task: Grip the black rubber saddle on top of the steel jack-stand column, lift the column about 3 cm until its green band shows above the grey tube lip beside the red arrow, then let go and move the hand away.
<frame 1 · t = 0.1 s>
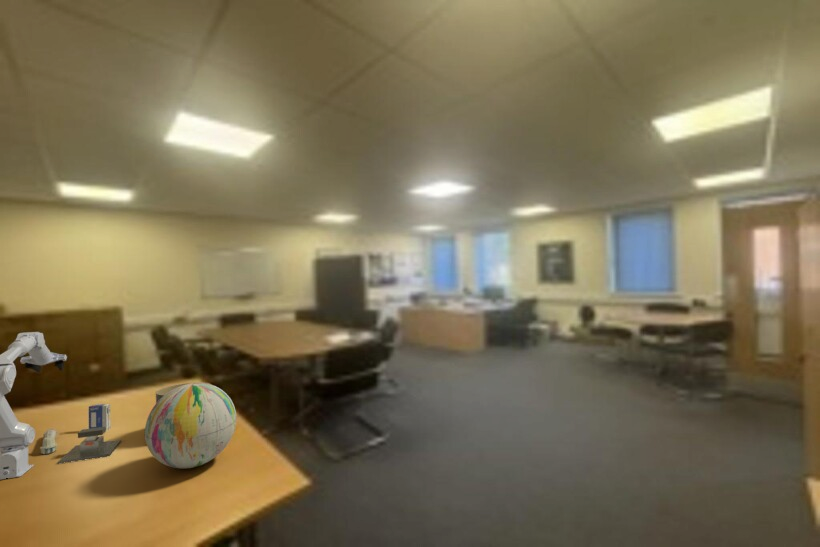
hand: (51, 369, 171), 32 cm above the table, tool tilted 50°, fingers open, 7 cm apart
globe: (193, 465, 148), on the table
walkman: (99, 430, 186), on the table
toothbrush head: (49, 446, 169), on the table
jack base: (92, 452, 161), on the table
planter: (184, 433, 180), on the table
jack column: (92, 439, 161), point 5 cm above the table, slide at 0.0 cm
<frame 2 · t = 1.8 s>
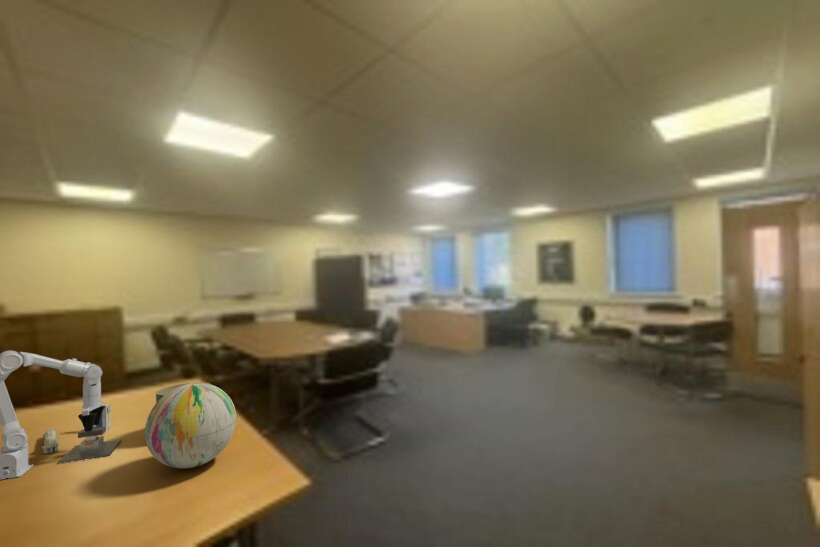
hand: (92, 427, 161), 10 cm above the table, tool pointing down, fingers open, 7 cm apart
nothing on the table moved.
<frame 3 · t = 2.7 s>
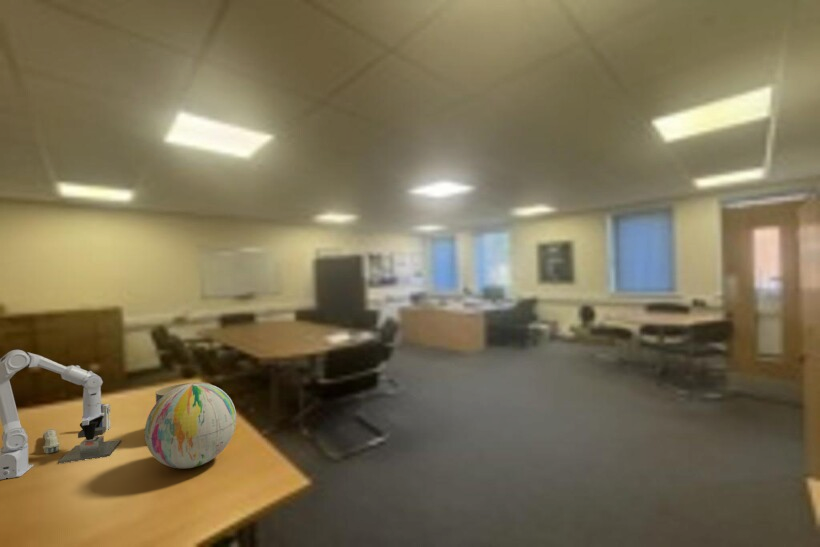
hand: (92, 437, 161), 6 cm above the table, tool pointing down, fingers closed on jack column, 4 cm apart
jack column: (92, 439, 161), point 5 cm above the table, slide at 0.0 cm, touching gripper
everything else where it was.
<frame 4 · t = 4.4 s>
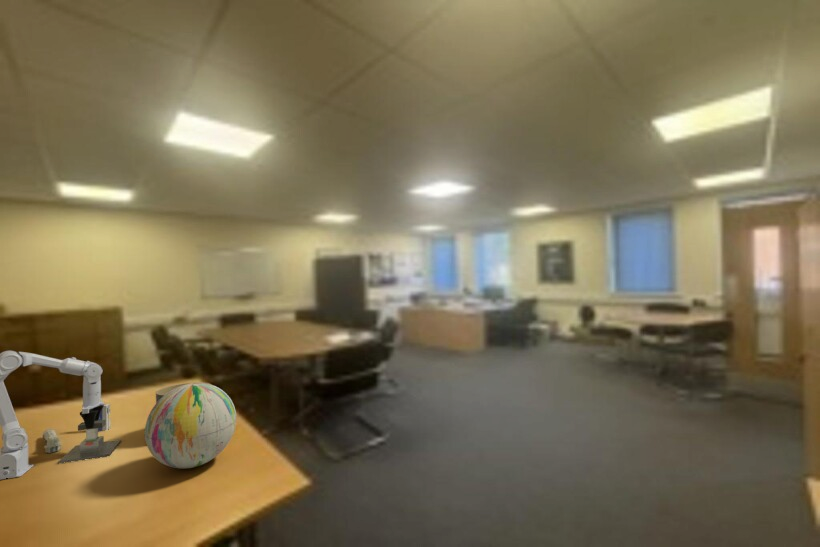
hand: (92, 426, 161), 10 cm above the table, tool pointing down, fingers closed on jack column, 4 cm apart
jack column: (92, 432, 161), point 8 cm above the table, slide at 2.9 cm, touching gripper
everything else where it was.
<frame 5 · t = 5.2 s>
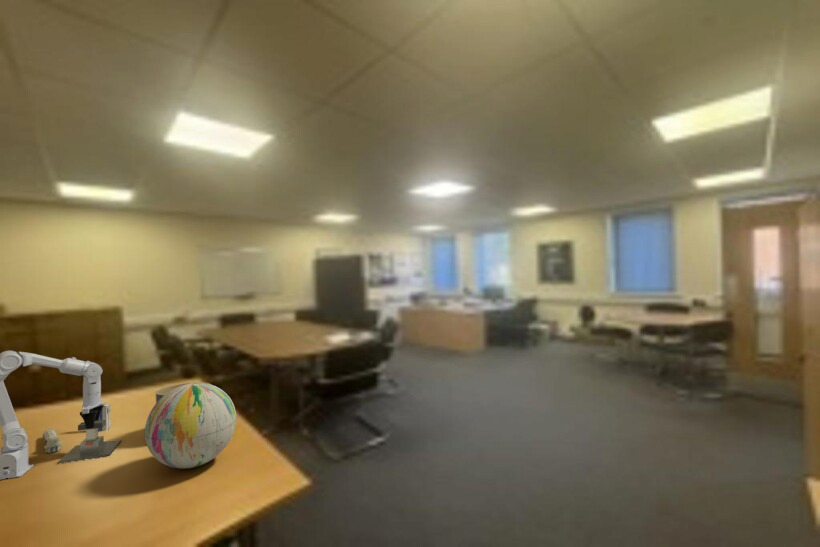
hand: (92, 426, 161), 10 cm above the table, tool pointing down, fingers closed on jack column, 4 cm apart
jack column: (92, 432, 161), point 8 cm above the table, slide at 2.9 cm, touching gripper
everything else where it was.
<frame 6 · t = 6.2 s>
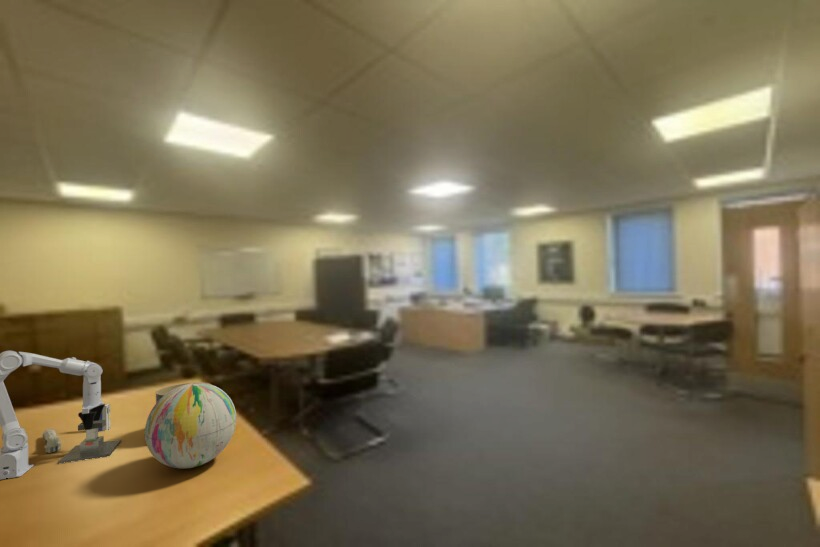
hand: (92, 426, 161), 10 cm above the table, tool pointing down, fingers open, 7 cm apart
jack column: (92, 432, 161), point 8 cm above the table, slide at 2.9 cm
everything else where it was.
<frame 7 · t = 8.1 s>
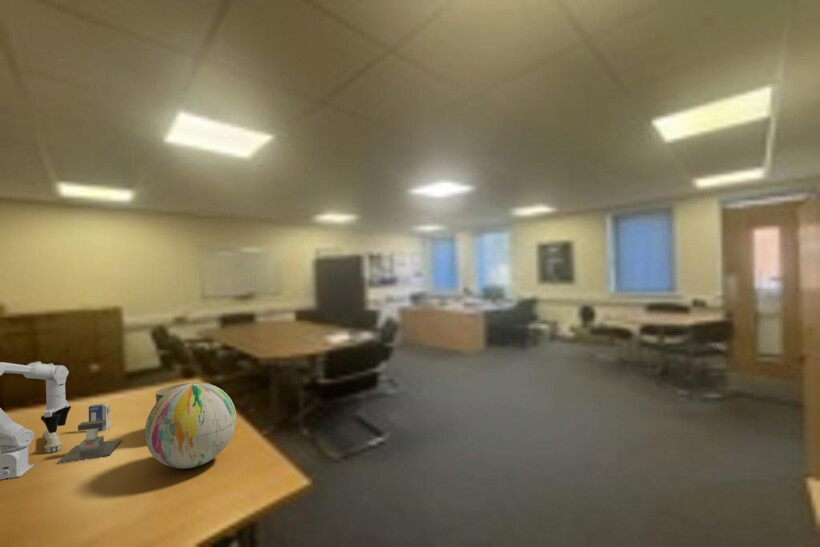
hand: (57, 428, 159), 10 cm above the table, tool pointing down, fingers open, 7 cm apart
nothing on the table moved.
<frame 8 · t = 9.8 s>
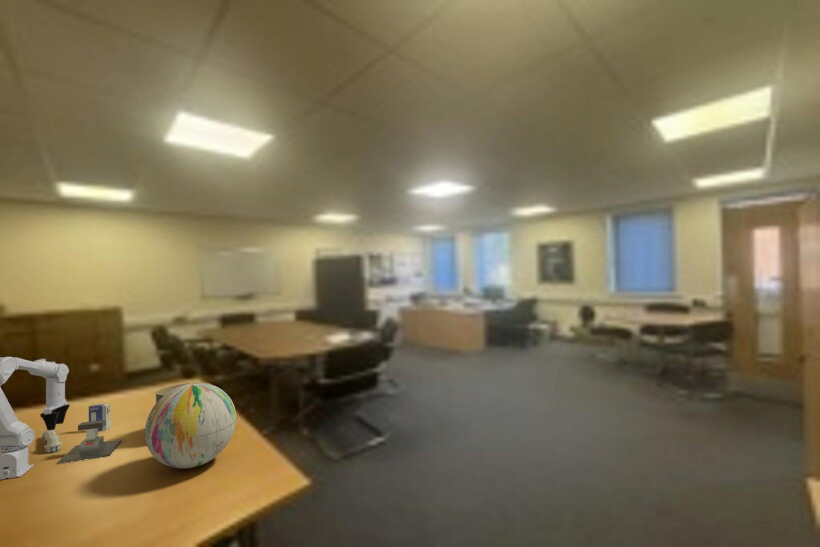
hand: (55, 426, 161), 10 cm above the table, tool pointing down, fingers open, 7 cm apart
nothing on the table moved.
at the end: jack column slide at 2.9 cm; the gripper is holding nothing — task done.
